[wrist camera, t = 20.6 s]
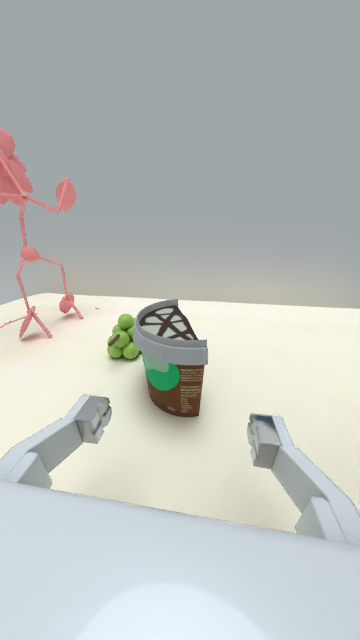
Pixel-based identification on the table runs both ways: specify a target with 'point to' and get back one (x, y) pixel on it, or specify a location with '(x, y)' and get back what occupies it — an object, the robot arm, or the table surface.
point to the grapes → (123, 338)
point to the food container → (171, 358)
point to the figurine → (8, 183)
